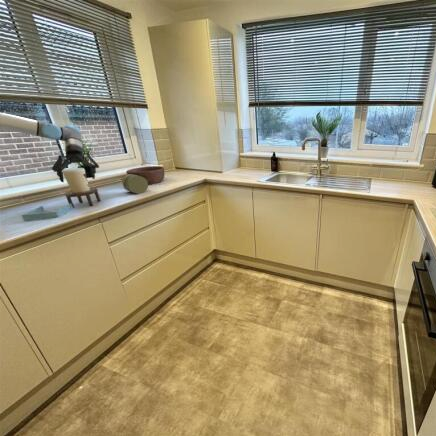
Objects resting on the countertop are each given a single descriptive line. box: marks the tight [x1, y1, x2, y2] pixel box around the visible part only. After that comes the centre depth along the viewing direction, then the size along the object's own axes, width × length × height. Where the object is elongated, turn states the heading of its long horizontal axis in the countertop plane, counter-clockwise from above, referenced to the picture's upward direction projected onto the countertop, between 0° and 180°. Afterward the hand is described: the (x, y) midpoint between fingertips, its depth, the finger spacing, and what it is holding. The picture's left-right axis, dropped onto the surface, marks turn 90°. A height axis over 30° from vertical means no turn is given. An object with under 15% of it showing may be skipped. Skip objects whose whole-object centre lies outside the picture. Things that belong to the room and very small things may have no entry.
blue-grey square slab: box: [21, 203, 74, 222], centre depth 121 cm, size 14×13×3 cm
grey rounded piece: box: [120, 173, 149, 195], centre depth 156 cm, size 11×12×11 cm
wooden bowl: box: [125, 165, 165, 186], centre depth 182 cm, size 25×25×10 cm
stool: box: [64, 187, 102, 209], centre depth 134 cm, size 14×14×8 cm
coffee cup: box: [62, 167, 91, 193], centre depth 130 cm, size 9×9×12 cm
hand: (77, 179), depth 131 cm, fingers open, 13 cm apart
